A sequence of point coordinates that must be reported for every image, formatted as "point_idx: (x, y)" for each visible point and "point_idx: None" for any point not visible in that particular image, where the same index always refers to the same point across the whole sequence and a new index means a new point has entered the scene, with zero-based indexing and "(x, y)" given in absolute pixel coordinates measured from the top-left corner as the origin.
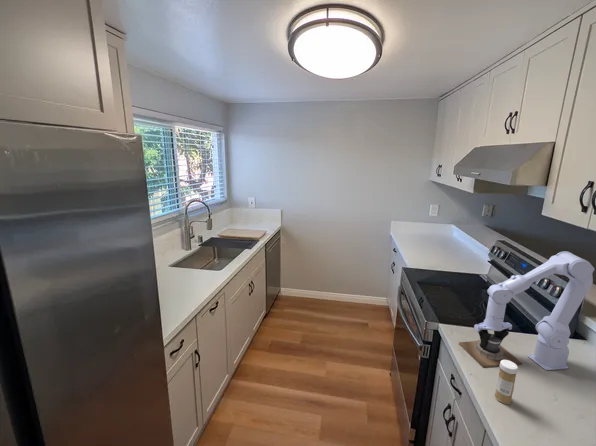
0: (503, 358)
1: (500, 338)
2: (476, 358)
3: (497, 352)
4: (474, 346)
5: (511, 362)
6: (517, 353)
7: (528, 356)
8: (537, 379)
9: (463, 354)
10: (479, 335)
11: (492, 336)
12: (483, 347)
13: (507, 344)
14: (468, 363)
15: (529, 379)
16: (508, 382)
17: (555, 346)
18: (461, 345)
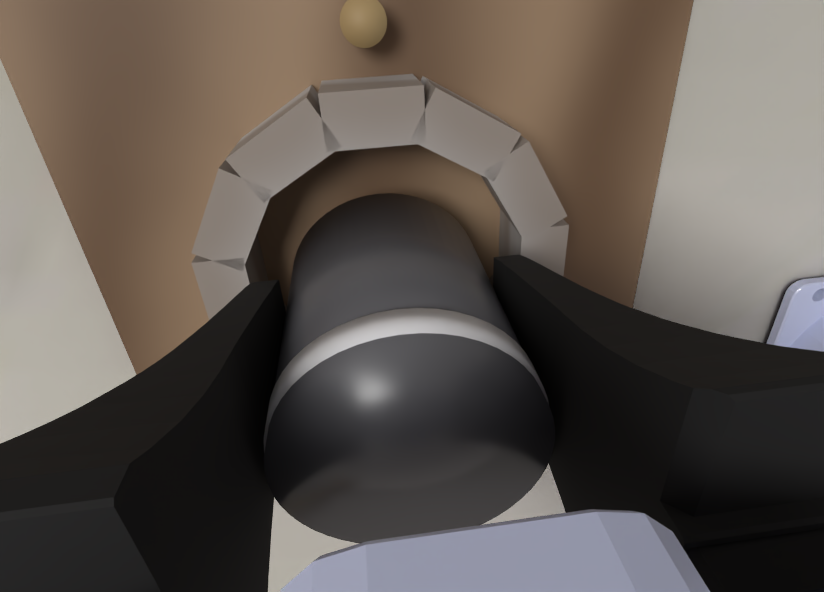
0: None
1: (556, 468)
2: (143, 366)
3: (491, 261)
4: (231, 126)
5: None
6: (738, 233)
7: (787, 299)
8: (563, 511)
9: (11, 254)
10: (148, 373)
11: (429, 442)
12: (290, 284)
13: (815, 41)
14: (34, 396)
15: (503, 516)
16: None
17: None
18: (14, 63)
